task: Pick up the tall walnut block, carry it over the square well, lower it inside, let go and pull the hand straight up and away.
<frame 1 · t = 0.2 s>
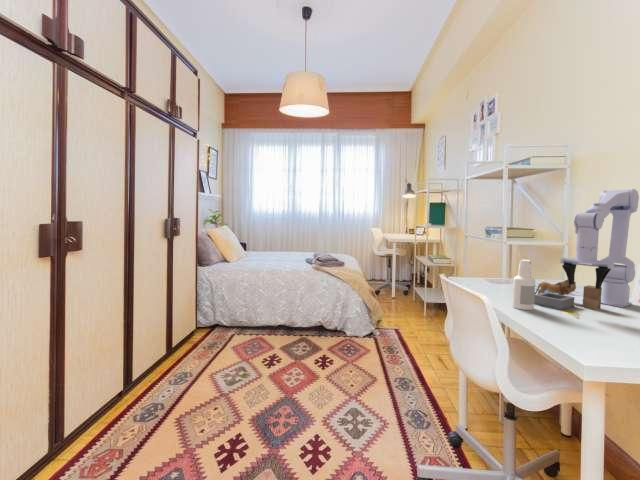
hand: (584, 286, 111), 10 cm above the table, tool pointing down, fingers open, 7 cm apart
walnut block: (591, 307, 119), on the table
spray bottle: (522, 308, 120), on the table
lion figurine: (554, 299, 132), on the table
square well: (553, 305, 123), on the table
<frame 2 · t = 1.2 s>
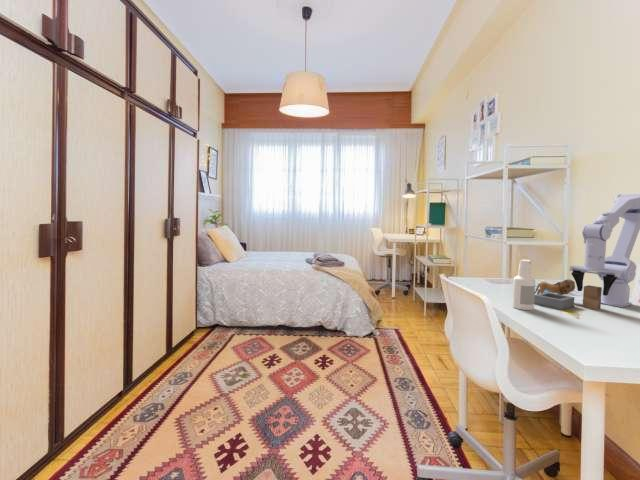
hand: (592, 292, 119), 6 cm above the table, tool pointing down, fingers open, 7 cm apart
nothing on the table moved.
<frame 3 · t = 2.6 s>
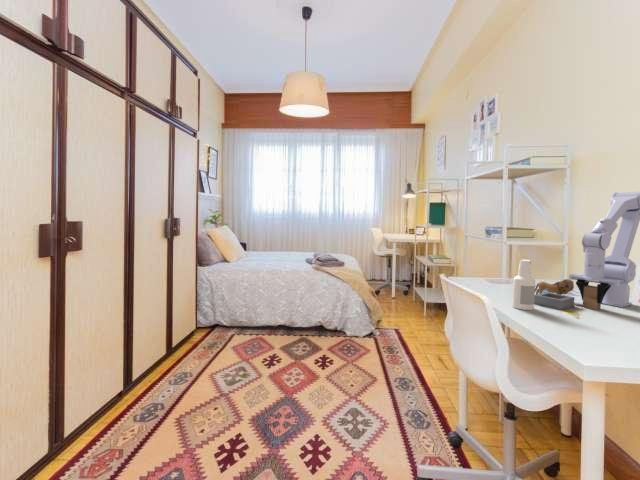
hand: (591, 301, 119), 2 cm above the table, tool pointing down, fingers closed on walnut block, 4 cm apart
walnut block: (591, 307, 119), on the table, touching gripper
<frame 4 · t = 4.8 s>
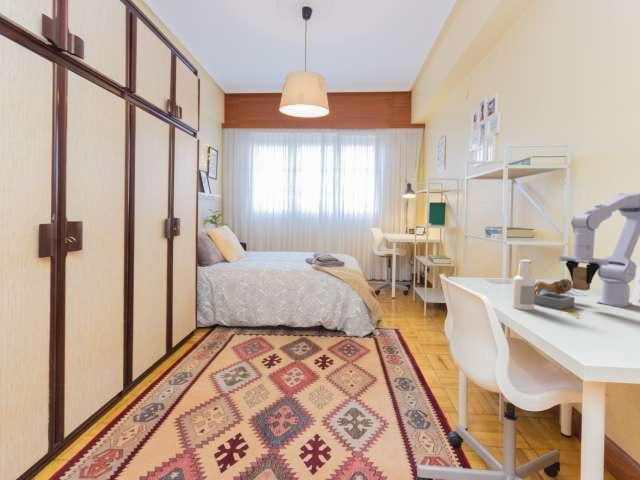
hand: (581, 282, 120), 9 cm above the table, tool pointing down, fingers closed on walnut block, 4 cm apart
walnut block: (580, 288, 120), point 7 cm above the table, touching gripper
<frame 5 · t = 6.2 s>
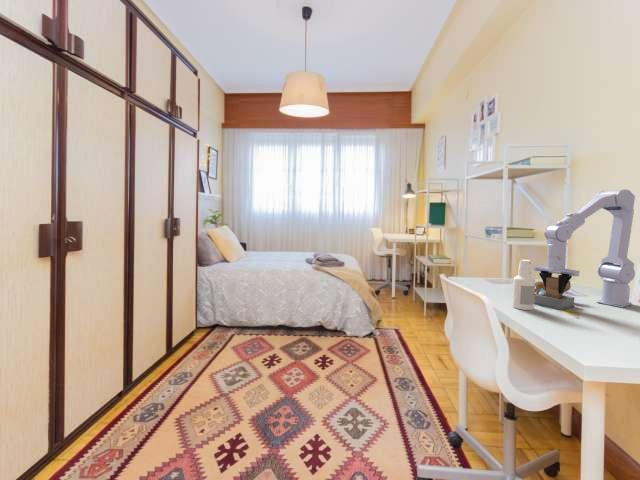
hand: (554, 292, 123), 5 cm above the table, tool pointing down, fingers closed on walnut block, 4 cm apart
walnut block: (553, 298, 123), point 3 cm above the table, touching gripper
when the fingers open (4 cm above the table, at t = 7.2 s): walnut block drops 1 cm, resting on square well.
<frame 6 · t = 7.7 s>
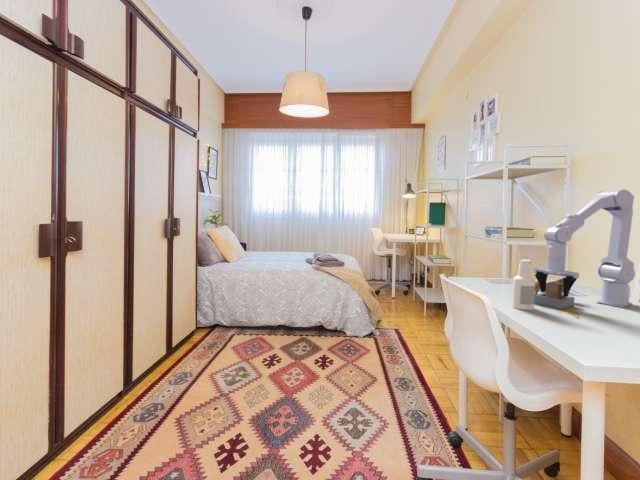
hand: (554, 293, 123), 4 cm above the table, tool pointing down, fingers open, 7 cm apart
walnut block: (553, 303, 123), resting on square well
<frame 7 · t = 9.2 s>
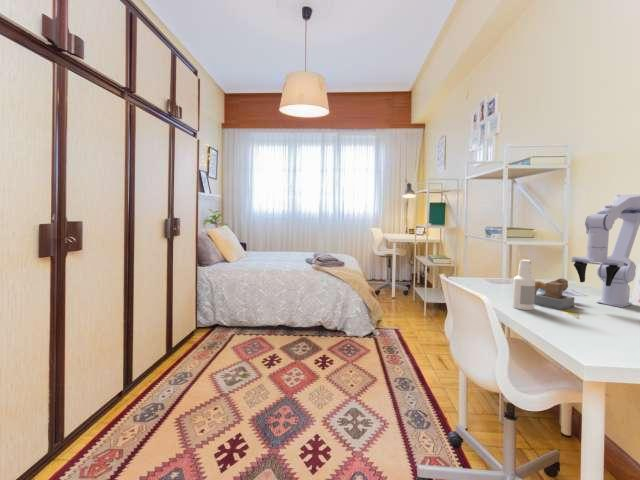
hand: (595, 283, 117), 9 cm above the table, tool pointing down, fingers open, 7 cm apart
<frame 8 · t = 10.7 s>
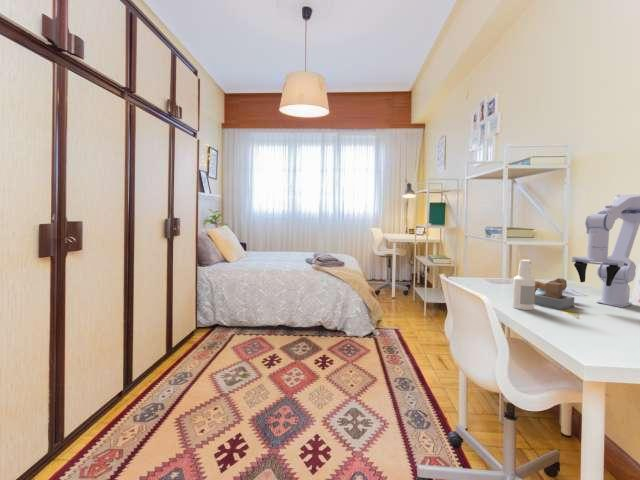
hand: (595, 283, 117), 9 cm above the table, tool pointing down, fingers open, 7 cm apart
at the end: walnut block 0.1 cm off-centre on the square well, point 0.5 cm above the square well's base; walnut block tilted 0°; the gripper is holding nothing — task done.
